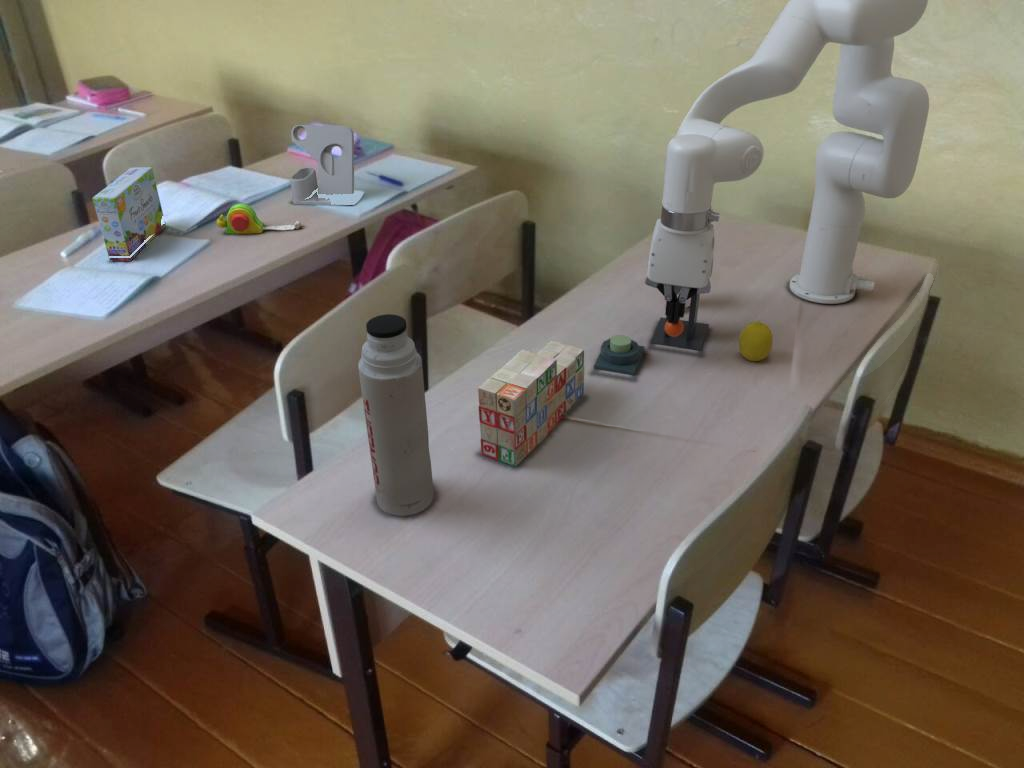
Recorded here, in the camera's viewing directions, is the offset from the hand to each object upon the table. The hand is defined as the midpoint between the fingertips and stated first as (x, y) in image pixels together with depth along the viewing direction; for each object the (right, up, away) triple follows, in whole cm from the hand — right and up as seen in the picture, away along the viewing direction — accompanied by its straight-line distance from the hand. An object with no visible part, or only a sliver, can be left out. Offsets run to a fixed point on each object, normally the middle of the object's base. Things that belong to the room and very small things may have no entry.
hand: (674, 319), depth 139 cm
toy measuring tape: (-88, +26, +60) cm, 110 cm away
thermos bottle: (-42, -27, -23) cm, 55 cm away
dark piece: (-9, -7, +5) cm, 13 cm away
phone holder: (-76, +38, +78) cm, 115 cm away
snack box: (-115, +22, +55) cm, 129 cm away
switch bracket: (+3, -3, +12) cm, 13 cm away
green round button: (-9, -5, +4) cm, 11 cm away
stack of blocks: (-24, -18, -9) cm, 31 cm away
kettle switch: (+2, +2, +5) cm, 6 cm away
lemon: (+15, -7, +5) cm, 17 cm away
